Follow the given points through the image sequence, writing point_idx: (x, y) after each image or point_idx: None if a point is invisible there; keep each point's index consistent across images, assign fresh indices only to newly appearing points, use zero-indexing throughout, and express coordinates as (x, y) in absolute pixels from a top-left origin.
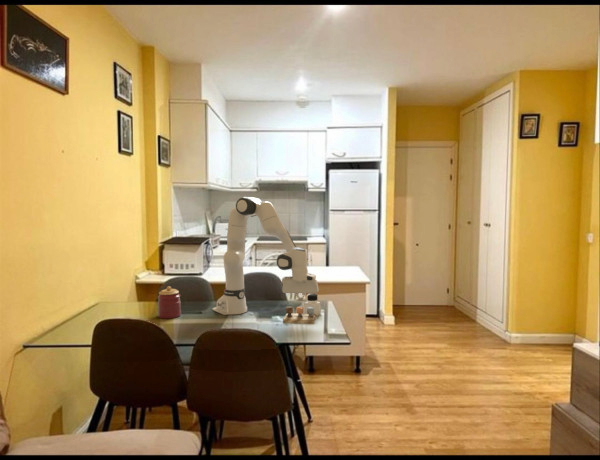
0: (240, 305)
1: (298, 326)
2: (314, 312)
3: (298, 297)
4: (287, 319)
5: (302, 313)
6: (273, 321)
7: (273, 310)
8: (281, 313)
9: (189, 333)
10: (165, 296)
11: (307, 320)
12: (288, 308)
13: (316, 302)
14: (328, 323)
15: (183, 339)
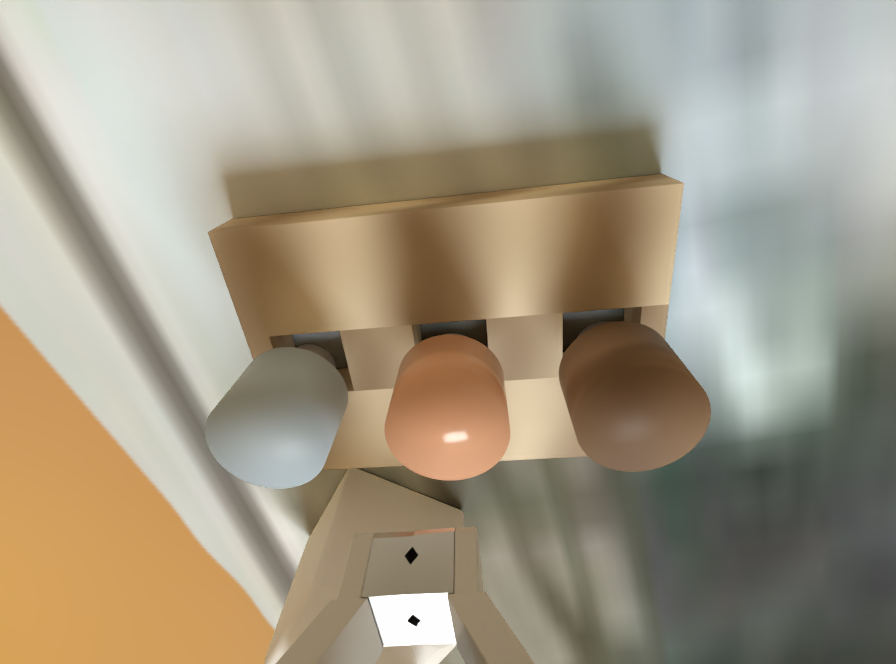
0: None
1: (383, 21)
2: (331, 509)
3: (460, 607)
4: (606, 190)
5: (403, 359)
6: (814, 189)
7: (810, 566)
8: (715, 500)
9: None
10: None
11: (298, 221)
12: (651, 364)
13: None
14: (71, 270)
15: None
